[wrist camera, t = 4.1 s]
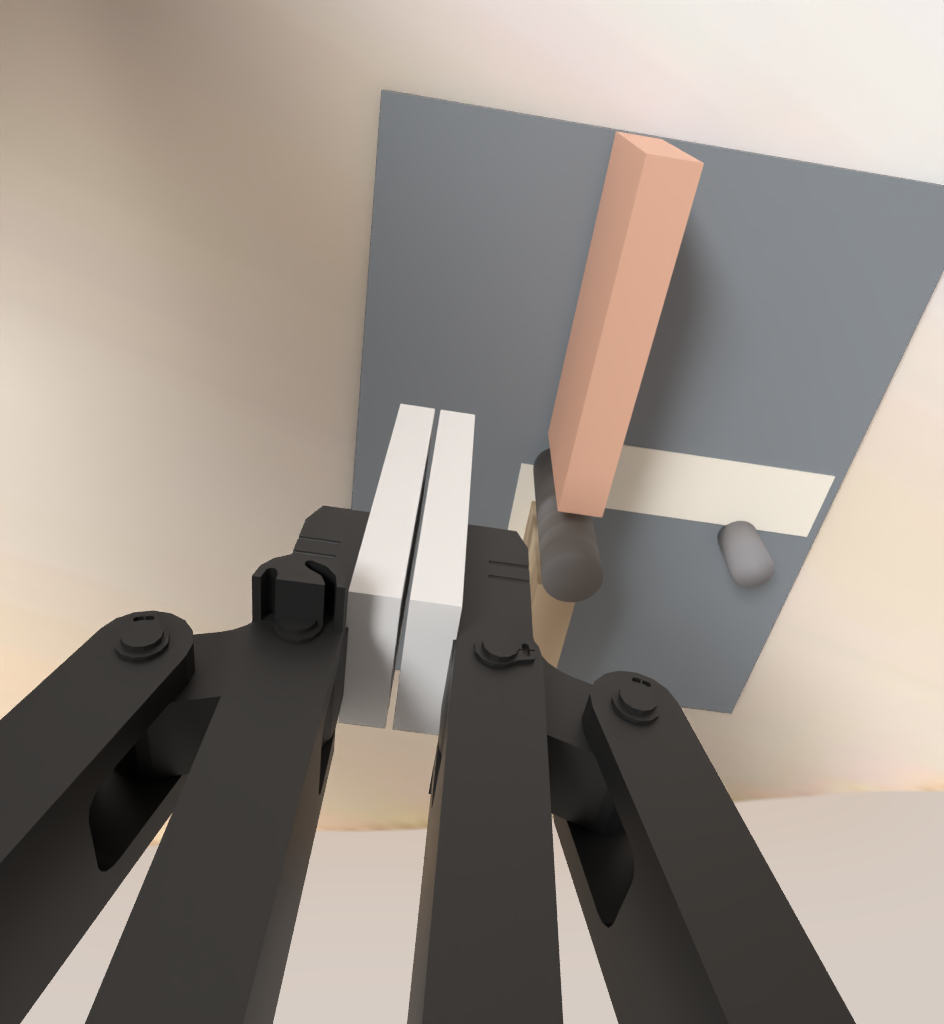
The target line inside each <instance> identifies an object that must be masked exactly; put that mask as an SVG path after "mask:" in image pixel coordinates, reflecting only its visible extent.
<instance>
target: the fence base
mask: <svg viewBox="0 0 944 1024" xmlns="http://www.w3.org/2000/svg"><path fill="white" fill-rule="evenodd" d="M533 475H534V488H535V501H532V503H531V507H530V512H529V516H528V520H527V525H526V529H525V534H524V538H523V541H524V543H525V544H526V546H527V547H528V555H529V572H530V590H531V608H532V626H533V638H534V641H535V643H536V644H537V645H538V646H539V649H540V652H541V655H542V656H543V658H544V659H545V660H546V661H547V662H548V663H549V664H551V665H552V666H554V667H555V668H557V665H558V661H559V658H560V654H561V651H562V647H563V644H564V640H565V637H566V633H567V630H568V626H569V623H570V619H571V616H572V612H573V609H574V605H575V602H579V601H583V600H586V599H588V598H590V597H591V596H593V595H594V594H595V593H596V592H597V591H598V590H599V588H600V587H601V585H602V582H603V572H602V566H601V561H600V556H599V551H598V546H597V541H596V536H595V531H594V526H593V521H592V516H588V515H581V514H574V513H567V512H560V511H558V509H557V501H556V493H555V485H554V477H553V469H552V461H551V453H550V448H549V449H546V450H544V451H543V452H542V453H540V454H539V455H538V457H537V458H536V460H535V462H534V466H533Z"/></svg>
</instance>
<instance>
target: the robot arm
mask: <svg viewBox="0 0 944 1024" xmlns="http://www.w3.org/2000/svg"><path fill="white" fill-rule="evenodd" d="M434 414H435V409H433V408H426V407H420V406H413V405H406V404H400V408H399V411H398V415H397V418H396V422H395V426H394V429H393V433H392V436H391V440H390V444H389V447H388V451H387V454H386V458H385V461H384V465H383V469H382V472H381V476H380V479H379V483H378V487H377V490H376V494H375V497H374V501H373V505H372V508H371V512H365V511H358V510H351V509H344V508H337V507H330V506H322V507H321V508H320V509H318V510H317V511H316V512H314V513H313V514H312V515H311V516H309V517H308V518H307V519H306V520H305V523H304V525H303V528H302V530H301V533H300V535H299V539H298V540H297V542H296V545H295V547H294V550H293V553H292V555H286V556H282V557H277V558H274V559H272V560H270V561H268V562H266V563H264V564H262V565H261V566H260V567H259V568H258V569H257V570H256V571H255V573H254V574H253V575H252V616H253V620H252V623H250V624H248V625H246V626H243V627H240V628H237V629H235V630H229V631H224V632H217V633H206V634H196V635H193V631H192V629H191V628H190V627H189V625H188V624H187V623H186V621H185V620H183V619H181V618H179V617H177V616H175V615H173V614H171V613H165V612H159V611H145V612H134V613H131V614H128V615H125V616H122V617H119V618H116V619H115V620H113V621H111V622H110V623H108V624H107V625H105V626H104V627H102V628H101V629H100V630H99V631H97V632H96V633H95V634H94V635H93V636H92V637H91V638H90V639H89V640H88V641H87V642H85V643H84V644H83V645H82V646H81V647H80V648H79V649H78V650H77V651H76V652H74V653H73V654H72V655H71V656H70V657H69V658H68V659H67V660H66V661H65V662H64V663H62V664H61V665H60V666H59V667H58V668H57V669H56V670H55V671H54V672H53V673H51V674H50V675H49V676H48V677H47V678H46V679H45V680H44V681H43V682H42V683H40V684H39V685H38V686H37V687H36V688H35V689H34V690H33V691H32V692H31V693H30V694H28V695H27V696H26V697H25V698H24V699H23V700H22V701H21V702H20V703H19V704H17V705H16V706H15V707H14V708H13V709H12V710H11V711H10V712H9V713H8V714H7V715H5V716H4V717H3V718H2V719H1V720H0V1024H20V1023H21V1021H22V1020H23V1019H24V1017H25V1016H26V1014H27V1013H28V1012H29V1010H30V1009H31V1008H32V1006H33V1005H34V1003H35V1002H36V1001H37V999H38V998H39V996H40V995H41V994H42V992H43V991H44V990H45V988H46V987H47V985H48V984H49V983H50V981H51V980H52V979H53V977H54V976H55V974H56V973H57V972H58V970H59V969H60V967H61V966H62V965H63V963H64V962H65V960H66V959H67V958H68V956H69V955H70V954H71V952H72V951H73V949H74V948H75V947H76V945H77V944H78V942H79V941H80V940H81V938H82V937H83V936H84V934H85V933H86V931H87V930H88V929H89V927H90V926H91V924H92V923H93V922H94V920H95V919H96V918H97V916H98V915H99V913H100V912H101V911H102V909H103V908H104V906H105V905H106V904H107V902H108V901H109V900H110V898H111V897H112V895H113V894H114V893H115V891H116V890H117V888H118V887H119V886H120V884H121V883H122V881H123V880H124V879H125V877H126V876H127V875H128V873H129V872H130V870H131V869H132V868H133V866H134V865H135V863H136V862H137V861H138V859H139V858H140V857H141V855H142V854H143V852H144V851H145V849H146V848H147V847H148V846H149V844H150V843H151V841H152V840H153V839H154V837H155V836H156V834H157V833H158V832H159V830H160V829H161V828H162V826H163V825H164V823H165V822H166V821H167V819H168V818H169V816H170V815H171V814H172V815H171V818H170V820H169V822H168V825H167V827H166V830H165V832H164V835H163V837H162V839H161V842H160V844H159V847H158V849H157V851H156V854H155V856H154V859H153V861H152V864H151V866H150V868H149V871H148V873H147V875H146V878H145V880H144V883H143V885H142V888H141V890H140V892H139V895H138V897H137V900H136V902H135V904H134V907H133V909H132V912H131V914H130V916H129V919H128V921H127V924H126V926H125V929H124V931H123V933H122V936H121V938H120V940H119V943H118V945H117V948H116V950H115V952H114V955H113V957H112V960H111V962H110V964H109V967H108V969H107V972H106V974H105V977H104V979H103V981H102V984H101V987H100V989H99V991H98V993H97V996H96V998H95V1001H94V1003H93V1005H92V1008H91V1010H90V1013H89V1015H88V1017H87V1020H86V1022H85V1024H273V1020H274V1016H275V1011H276V1006H277V1002H278V997H279V993H280V989H281V984H282V980H283V975H284V971H285V966H286V962H287V957H288V953H289V948H290V944H291V940H292V935H293V931H294V926H295V922H296V917H297V913H298V908H299V904H300V899H301V895H302V890H303V886H304V881H305V877H306V873H307V868H308V864H309V858H310V855H311V850H312V845H313V841H314V837H315V832H316V828H317V823H318V819H319V814H320V810H321V805H322V801H323V796H324V792H325V788H326V783H327V779H328V774H329V770H330V765H331V761H332V756H333V752H334V741H335V728H336V724H337V720H338V716H339V723H345V724H353V725H361V726H369V727H377V728H385V726H386V720H387V715H388V709H389V703H390V697H391V691H392V685H393V679H394V673H395V667H396V661H397V655H398V649H399V643H400V637H401V631H402V625H403V619H404V613H405V608H406V602H407V596H408V590H409V584H410V578H411V572H412V566H413V560H414V554H415V548H416V542H417V536H418V530H419V524H420V518H421V512H422V505H423V497H424V489H425V482H426V474H427V467H428V459H429V452H430V444H431V436H432V429H433V421H434ZM474 424H475V415H473V414H467V413H460V412H453V411H447V410H441V411H440V417H439V423H438V429H437V435H436V442H435V448H434V454H433V460H432V466H431V472H430V478H429V485H428V491H427V497H426V503H425V509H424V515H423V521H422V528H421V534H420V540H419V546H418V552H417V558H416V564H415V570H414V577H413V583H412V589H411V595H410V601H409V609H408V617H407V624H406V632H405V639H404V647H403V655H402V662H401V670H400V677H399V685H398V692H397V700H396V708H395V715H394V723H393V730H401V731H409V732H416V733H424V734H432V735H439V738H438V745H437V750H436V756H435V761H434V767H433V772H432V778H431V783H430V789H429V794H431V799H430V808H429V818H428V828H427V837H426V847H425V857H424V866H423V876H422V885H421V895H420V905H419V914H418V924H417V934H416V943H415V953H414V963H413V973H412V982H411V992H410V1002H409V1012H408V1021H407V1024H563V1013H562V995H561V978H560V960H559V942H558V923H557V905H556V890H555V889H556V888H555V870H554V852H553V834H552V817H551V813H552V814H553V817H554V823H555V827H556V829H557V833H558V836H559V839H560V842H561V845H562V848H563V851H564V855H565V858H566V861H567V864H568V867H569V870H570V873H571V877H572V879H573V883H574V886H575V889H576V892H577V895H578V898H579V902H580V905H581V908H582V911H583V914H584V917H585V920H586V923H587V926H588V930H589V933H590V936H591V939H592V942H593V945H594V948H595V951H596V954H597V958H598V961H599V964H600V967H601V970H602V973H603V976H604V980H605V983H606V986H607V989H608V992H609V995H610V998H611V1001H612V1004H613V1008H614V1011H615V1014H616V1017H617V1020H618V1023H619V1024H856V1023H855V1021H854V1019H853V1018H852V1016H851V1014H850V1012H849V1010H848V1009H847V1007H846V1005H845V1003H844V1001H843V1000H842V998H841V996H840V994H839V992H838V991H837V989H836V987H835V985H834V983H833V982H832V980H831V978H830V976H829V975H828V972H827V971H826V969H825V967H824V965H823V963H822V962H821V960H820V958H819V956H818V954H817V953H816V951H815V949H814V947H813V945H812V944H811V942H810V940H809V938H808V936H807V935H806V933H805V931H804V929H803V927H802V926H801V924H800V922H799V920H798V918H797V917H796V915H795V913H794V911H793V909H792V908H791V906H790V904H789V902H788V900H787V899H786V897H785V895H784V893H783V891H782V890H781V888H780V886H779V884H778V882H777V881H776V879H775V877H774V875H773V873H772V872H771V870H770V868H769V866H768V864H767V863H766V861H765V859H764V857H763V855H762V854H761V852H760V850H759V848H758V846H757V844H756V843H755V841H754V839H753V837H752V835H751V834H750V832H749V830H748V828H747V827H746V825H745V823H744V821H743V819H742V817H741V816H740V814H739V812H738V810H737V808H736V807H735V805H734V803H733V801H732V799H731V798H730V796H729V794H728V792H727V790H726V789H725V787H724V785H723V783H722V781H721V780H720V778H719V776H718V774H717V772H716V771H715V769H714V767H713V765H712V763H711V762H710V760H709V758H708V756H707V754H706V752H705V751H704V749H703V747H702V745H701V743H700V742H699V740H698V738H697V736H696V734H695V733H694V731H693V729H692V727H691V725H690V724H689V722H688V720H687V718H686V716H685V715H684V713H683V711H682V709H681V707H680V706H679V704H678V702H677V701H676V699H675V698H674V697H673V696H672V694H671V693H670V692H669V691H668V690H667V689H666V688H665V687H663V686H662V685H661V684H659V683H658V682H656V681H655V680H654V679H652V678H649V677H646V676H644V675H641V674H639V673H636V672H627V671H615V672H610V673H606V674H604V675H602V676H601V677H600V678H598V679H597V680H596V681H594V684H593V685H592V684H590V683H587V682H585V681H582V680H579V679H577V678H574V677H572V676H570V675H567V674H565V673H563V672H561V671H559V670H558V669H556V668H555V667H554V666H552V665H551V664H549V663H548V662H547V661H546V660H545V659H544V658H543V656H542V655H541V652H540V649H539V646H538V645H537V644H536V643H535V641H534V638H533V626H532V608H531V590H530V572H529V555H528V547H527V546H526V544H525V543H524V541H523V540H522V538H521V537H520V536H519V534H518V533H517V531H512V530H505V529H498V528H491V527H484V526H477V525H470V524H468V513H469V498H470V483H471V468H472V453H473V438H474ZM172 812H173V813H172Z"/></svg>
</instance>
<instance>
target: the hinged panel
mask: <svg viewBox="0 0 944 1024" xmlns="http://www.w3.org/2000/svg"><path fill="white" fill-rule="evenodd" d="M703 165H704V163H703V162H701V161H699V160H697V159H696V158H694V157H692V156H690V155H689V154H687V153H685V152H683V151H682V150H680V149H678V148H676V147H675V146H673V145H671V144H669V143H668V142H666V141H664V140H662V139H659V138H653V137H647V136H641V135H635V134H629V133H623V132H617V131H616V133H615V138H614V142H613V146H612V151H611V155H610V160H609V164H608V169H607V173H606V178H605V182H604V186H603V191H602V195H601V200H600V204H599V209H598V213H597V218H596V222H595V226H594V231H593V235H592V240H591V244H590V249H589V253H588V258H587V262H586V266H585V271H584V275H583V280H582V284H581V289H580V293H579V298H578V302H577V307H576V311H575V315H574V320H573V324H572V329H571V333H570V338H569V342H568V347H567V351H566V355H565V360H564V364H563V369H562V373H561V378H560V382H559V387H558V391H557V395H556V400H555V404H554V409H553V413H552V418H551V422H550V427H549V431H548V437H549V445H550V453H551V461H552V469H553V477H554V485H555V493H556V501H557V509H558V511H560V512H567V513H574V514H581V515H588V516H595V517H602V516H603V513H604V510H605V506H606V503H607V499H608V496H609V492H610V489H611V485H612V482H613V478H614V475H615V471H616V468H617V464H618V461H619V457H620V454H621V450H622V447H623V443H624V440H625V436H626V433H627V430H628V426H629V423H630V419H631V416H632V412H633V409H634V405H635V402H636V398H637V395H638V391H639V388H640V384H641V381H642V377H643V374H644V370H645V367H646V363H647V360H648V356H649V353H650V350H651V346H652V343H653V339H654V336H655V332H656V329H657V325H658V322H659V318H660V315H661V311H662V308H663V304H664V301H665V297H666V294H667V290H668V287H669V283H670V280H671V276H672V273H673V269H674V266H675V263H676V259H677V256H678V252H679V249H680V245H681V242H682V238H683V235H684V231H685V228H686V224H687V221H688V217H689V214H690V210H691V207H692V203H693V200H694V196H695V193H696V189H697V186H698V183H699V179H700V176H701V172H702V169H703Z"/></svg>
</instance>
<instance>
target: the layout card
mask: <svg viewBox="0 0 944 1024" xmlns="http://www.w3.org/2000/svg"><path fill="white" fill-rule="evenodd" d="M616 131H617V132H623V133H629V134H635V135H641V136H647V137H653V138H659V139H662V140H664V141H666V142H668V143H669V144H671V145H673V146H675V147H676V148H678V149H680V150H682V151H683V152H685V153H687V154H689V155H690V156H692V157H694V158H696V159H697V160H699V161H701V162H703V163H704V165H703V169H702V172H701V176H700V179H699V183H698V186H697V189H696V193H695V196H694V200H693V203H692V207H691V210H690V214H689V217H688V221H687V224H686V228H685V231H684V235H683V238H682V242H681V245H680V249H679V252H678V256H677V259H676V263H675V266H674V269H673V273H672V276H671V280H670V283H669V287H668V290H667V294H666V297H665V301H664V304H663V308H662V311H661V315H660V318H659V322H658V325H657V329H656V332H655V336H654V339H653V343H652V346H651V350H650V353H649V356H648V360H647V363H646V367H645V370H644V374H643V377H642V381H641V384H640V388H639V391H638V395H637V398H636V402H635V405H634V409H633V412H632V416H631V419H630V423H629V426H628V430H627V433H626V436H625V440H624V443H623V447H622V450H621V454H620V457H619V461H618V464H617V468H616V471H615V475H614V478H613V482H612V485H611V489H610V492H609V496H608V499H607V503H606V506H605V510H604V513H603V516H602V517H595V516H592V521H593V526H594V531H595V536H596V541H597V546H598V551H599V556H600V561H601V566H602V572H603V582H602V585H601V587H600V588H599V590H598V591H597V592H596V593H595V594H594V595H593V596H591V597H590V598H588V599H586V600H583V601H579V602H575V605H574V609H573V612H572V616H571V619H570V623H569V626H568V630H567V633H566V637H565V640H564V644H563V647H562V651H561V654H560V658H559V661H558V665H557V668H556V669H558V670H559V671H561V672H563V673H565V674H567V675H570V676H572V677H574V678H577V679H579V680H582V681H585V682H587V683H590V684H592V685H593V684H594V681H596V680H597V679H598V678H600V677H601V676H602V675H604V674H606V673H610V672H615V671H627V672H636V673H639V674H641V675H644V676H646V677H649V678H652V679H654V680H655V681H656V682H658V683H659V684H661V685H662V686H663V687H665V688H666V689H667V690H668V691H669V692H670V693H671V694H672V696H673V697H674V698H675V699H676V701H677V702H678V704H679V706H680V707H685V708H693V709H701V710H708V711H716V712H724V713H732V711H733V709H734V707H735V705H736V703H737V700H738V698H739V696H740V694H741V692H742V690H743V688H744V686H745V684H746V682H747V680H748V677H749V675H750V673H751V671H752V669H753V667H754V665H755V663H756V661H757V659H758V657H759V654H760V652H761V650H762V648H763V646H764V644H765V642H766V640H767V638H768V636H769V634H770V631H771V629H772V627H773V625H774V623H775V621H776V619H777V617H778V615H779V613H780V611H781V608H782V606H783V604H784V602H785V600H786V598H787V596H788V594H789V592H790V590H791V588H792V585H793V583H794V581H795V579H796V577H797V575H798V573H799V571H800V569H801V567H802V565H803V562H804V560H805V558H806V556H807V554H808V552H809V550H810V548H811V546H812V544H813V542H814V539H815V537H816V535H817V533H818V531H819V529H820V527H821V525H822V523H823V521H824V519H825V516H826V514H827V512H828V510H829V508H830V506H831V504H832V502H833V500H834V498H835V496H836V494H837V491H838V489H839V487H840V485H841V483H842V481H843V479H844V477H845V475H846V473H847V471H848V468H849V466H850V464H851V462H852V460H853V458H854V456H855V454H856V452H857V450H858V448H859V445H860V443H861V441H862V439H863V437H864V435H865V433H866V431H867V429H868V427H869V425H870V422H871V420H872V418H873V416H874V414H875V412H876V410H877V408H878V406H879V404H880V402H881V399H882V397H883V395H884V393H885V391H886V389H887V387H888V385H889V383H890V381H891V379H892V376H893V374H894V372H895V370H896V368H897V366H898V364H899V362H900V360H901V358H902V356H903V353H904V351H905V349H906V347H907V345H908V343H909V341H910V339H911V337H912V335H913V333H914V330H915V328H916V326H917V324H918V322H919V320H920V318H921V316H922V314H923V312H924V310H925V307H926V305H927V303H928V301H929V299H930V297H931V295H932V293H933V291H934V289H935V287H936V284H937V282H938V280H939V278H940V276H941V274H942V272H943V270H944V185H939V184H933V183H927V182H921V181H916V180H910V179H904V178H898V177H892V176H886V175H880V174H875V173H869V172H863V171H857V170H851V169H845V168H839V167H834V166H828V165H822V164H816V163H810V162H804V161H798V160H793V159H787V158H781V157H775V156H769V155H763V154H757V153H752V152H746V151H740V150H734V149H728V148H722V147H716V146H711V145H705V144H699V143H693V142H687V141H681V140H675V139H670V138H664V137H658V136H652V135H646V134H640V133H634V132H628V131H623V130H617V129H611V128H605V127H599V126H593V125H587V124H582V123H576V122H570V121H564V120H558V119H552V118H546V117H541V116H535V115H529V114H523V113H517V112H511V111H505V110H500V109H494V108H488V107H482V106H476V105H470V104H464V103H459V102H453V101H447V100H441V99H435V98H429V97H423V96H418V95H412V94H406V93H400V92H394V91H388V90H381V103H380V117H379V131H378V144H377V158H376V172H375V186H374V200H373V214H372V228H371V242H370V256H369V269H368V283H367V297H366V311H365V325H364V339H363V353H362V367H361V381H360V394H359V408H358V422H357V436H356V450H355V464H354V478H353V492H352V506H351V510H358V511H365V512H371V508H372V505H373V501H374V497H375V494H376V490H377V487H378V483H379V479H380V476H381V472H382V469H383V465H384V461H385V458H386V454H387V451H388V447H389V444H390V440H391V436H392V433H393V429H394V426H395V422H396V418H397V415H398V411H399V408H400V404H406V405H413V406H420V407H426V408H433V409H435V414H434V421H433V429H432V436H431V444H430V452H429V459H428V467H427V474H426V482H425V489H424V497H423V505H422V512H421V518H420V524H419V530H418V536H417V542H416V548H415V554H414V560H413V566H412V572H411V578H410V584H409V590H408V596H407V602H406V608H405V613H404V619H403V625H402V631H401V637H400V643H399V649H398V655H397V661H396V667H395V670H401V662H402V655H403V647H404V639H405V632H406V624H407V617H408V609H409V601H410V595H411V589H412V583H413V577H414V570H415V564H416V558H417V552H418V546H419V540H420V534H421V528H422V521H423V515H424V509H425V503H426V497H427V491H428V485H429V478H430V472H431V466H432V460H433V454H434V448H435V442H436V435H437V429H438V423H439V417H440V411H441V410H447V411H453V412H460V413H467V414H473V415H475V424H474V438H473V453H472V468H471V483H470V498H469V513H468V524H470V525H477V526H484V527H491V528H498V529H505V530H512V531H517V533H518V534H519V536H520V537H521V538H522V540H523V538H524V534H525V529H526V525H527V520H528V516H529V512H530V507H531V503H532V501H535V488H534V475H533V466H534V462H535V460H536V458H537V457H538V455H539V454H540V453H542V452H543V451H544V450H546V449H549V448H550V445H549V437H548V431H549V427H550V422H551V418H552V413H553V409H554V404H555V400H556V395H557V391H558V387H559V382H560V378H561V373H562V369H563V364H564V360H565V355H566V351H567V347H568V342H569V338H570V333H571V329H572V324H573V320H574V315H575V311H576V307H577V302H578V298H579V293H580V289H581V284H582V280H583V275H584V271H585V266H586V262H587V258H588V253H589V249H590V244H591V240H592V235H593V231H594V226H595V222H596V218H597V213H598V209H599V204H600V200H601V195H602V191H603V186H604V182H605V178H606V173H607V169H608V164H609V160H610V155H611V151H612V146H613V142H614V138H615V133H616Z"/></svg>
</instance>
